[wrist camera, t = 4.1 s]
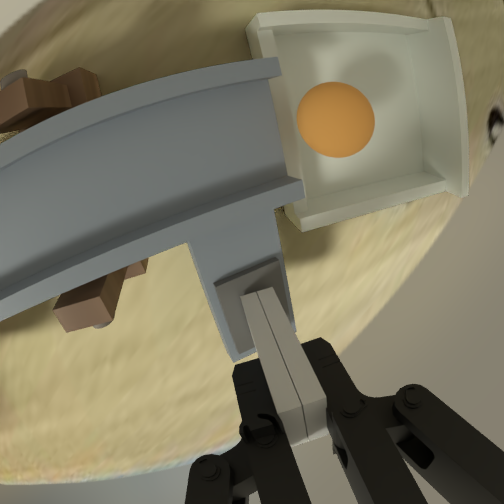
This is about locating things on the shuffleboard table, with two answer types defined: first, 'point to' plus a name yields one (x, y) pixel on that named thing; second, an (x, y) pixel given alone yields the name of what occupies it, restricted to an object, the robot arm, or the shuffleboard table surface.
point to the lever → (152, 192)
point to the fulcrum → (38, 110)
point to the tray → (381, 99)
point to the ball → (335, 119)
